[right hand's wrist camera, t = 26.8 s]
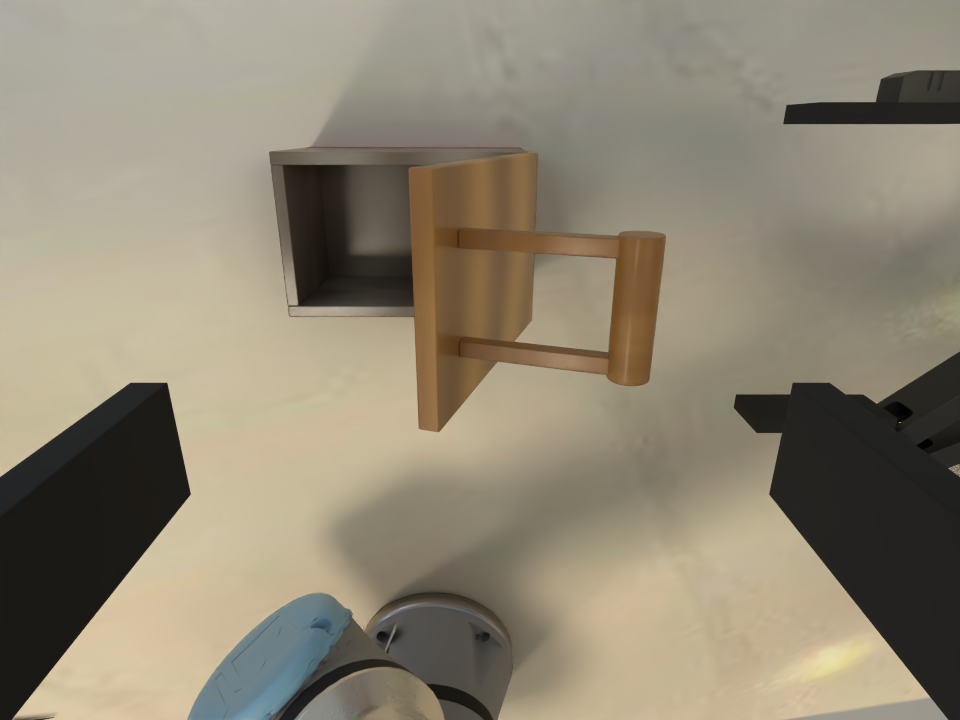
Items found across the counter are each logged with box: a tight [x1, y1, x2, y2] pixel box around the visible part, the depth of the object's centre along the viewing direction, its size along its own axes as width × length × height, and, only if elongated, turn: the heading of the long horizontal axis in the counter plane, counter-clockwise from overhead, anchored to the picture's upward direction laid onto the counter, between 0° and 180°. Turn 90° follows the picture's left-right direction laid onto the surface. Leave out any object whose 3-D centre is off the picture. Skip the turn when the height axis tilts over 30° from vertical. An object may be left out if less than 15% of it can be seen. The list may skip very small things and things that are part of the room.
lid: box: [409, 153, 666, 432], centre depth 27 cm, size 16×10×8 cm
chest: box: [269, 147, 529, 317], centre depth 40 cm, size 15×10×9 cm, turn 90°
